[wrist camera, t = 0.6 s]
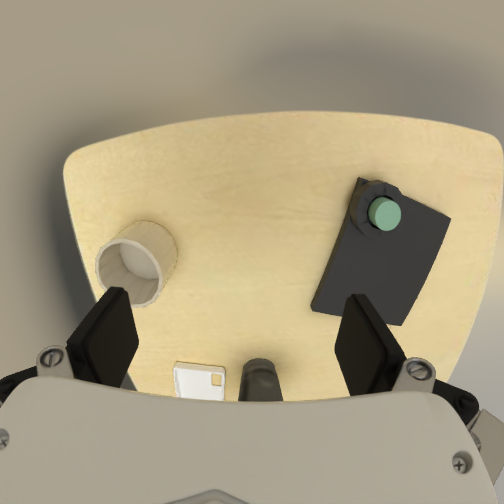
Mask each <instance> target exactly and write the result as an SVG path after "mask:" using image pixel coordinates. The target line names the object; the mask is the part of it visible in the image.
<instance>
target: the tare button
mask: <svg viewBox="0 0 504 504" xmlns="http://www.w3.org/2000/svg"><path fill="white" fill-rule="evenodd" d="M368 216H369V219H370V221H371V222H372V223H373V224H374V225H376V226H377V227H378V228H380V229H381V230H384V231H389V230H392V229H394V228H395V227H396V226H397V225H398V223H399V221H400V218H401V210H400V208H399V206H398V204H397V203H395V202H394V201H391V200H389V199H387V198H384V197H379V198H377V199H375V200H374V201H373V202H372V203H371V204H370V206H369V210H368Z"/></svg>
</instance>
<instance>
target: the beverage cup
mask: <svg viewBox="0 0 504 504" xmlns="http://www.w3.org/2000/svg"><path fill="white" fill-rule="evenodd" d="M238 401H241V402H279V401H283V397H282V393H281V389H280V385H279V380H278V376H277V373H276V370H275V366H274V364H273V363H272V362H270V361H269V360H266V359H253V360H250V361H249V362H247V363H246V364H245V365H244V367H243V373H242V377H241V383H240V391H239V398H238Z"/></svg>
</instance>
